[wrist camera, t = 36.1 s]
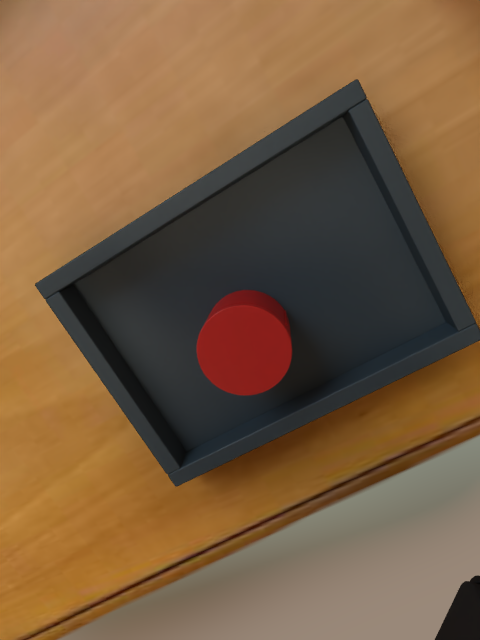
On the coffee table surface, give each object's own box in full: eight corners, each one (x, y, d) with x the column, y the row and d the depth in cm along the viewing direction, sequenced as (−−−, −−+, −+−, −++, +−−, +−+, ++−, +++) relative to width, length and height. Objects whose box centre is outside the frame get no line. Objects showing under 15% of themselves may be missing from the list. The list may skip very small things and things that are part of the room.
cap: (264, 273, 21) (262, 286, 18) (306, 344, 21) (310, 368, 18) (191, 315, 21) (178, 334, 18) (234, 382, 22) (228, 411, 19)
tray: (465, 325, 21) (484, 338, 19) (183, 464, 24) (175, 487, 22) (349, 89, 19) (357, 77, 17) (54, 276, 22) (33, 284, 20)
